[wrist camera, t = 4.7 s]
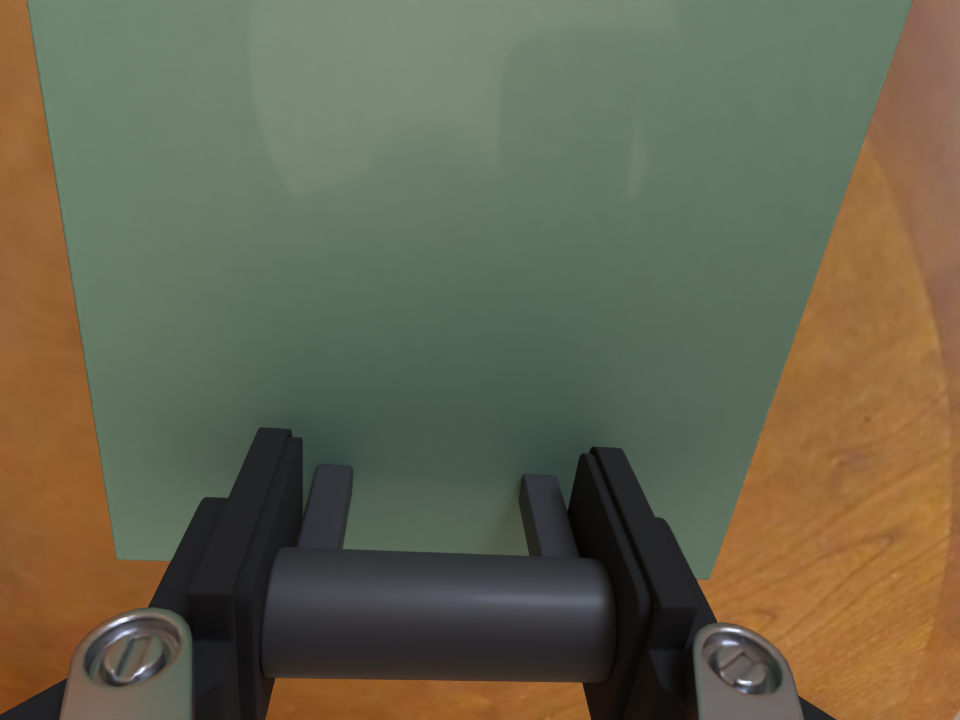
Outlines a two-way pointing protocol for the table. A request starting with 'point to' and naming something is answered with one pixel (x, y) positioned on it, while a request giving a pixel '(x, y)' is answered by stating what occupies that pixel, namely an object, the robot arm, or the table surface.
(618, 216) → the lid
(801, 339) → the table surface
